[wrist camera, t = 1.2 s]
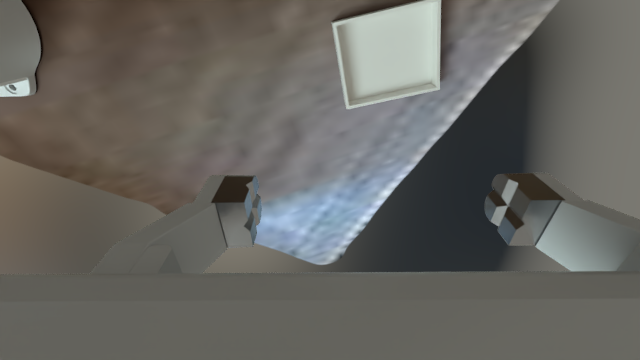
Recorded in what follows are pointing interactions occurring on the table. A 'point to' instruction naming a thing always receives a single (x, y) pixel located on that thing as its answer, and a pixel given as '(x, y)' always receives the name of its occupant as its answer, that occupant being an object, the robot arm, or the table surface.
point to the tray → (389, 53)
